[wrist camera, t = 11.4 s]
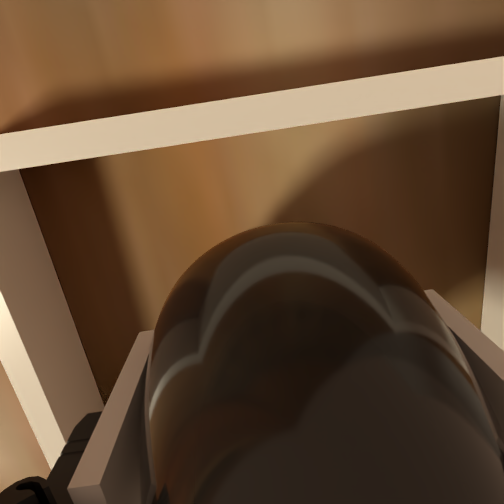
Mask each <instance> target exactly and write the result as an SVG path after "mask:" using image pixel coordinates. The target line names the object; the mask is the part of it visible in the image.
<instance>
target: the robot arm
mask: <svg viewBox="0 0 504 504" xmlns="http://www.w3.org/2000/svg"><path fill="white" fill-rule="evenodd" d="M424 292H425V293H426V294H427V296H428V297H429V299H430V300H431V302H432V303H433V305H434V306H435V308H436V309H437V311H438V312H439V314H440V315H441V317H442V318H443V320H444V321H445V323H446V324H447V326H448V327H449V329H450V331H451V332H452V334H453V335H454V337H455V339H456V340H457V342H458V344H459V345H460V347H461V349H462V351H463V352H464V354H465V356H466V358H467V359H468V361H469V363H470V365H471V367H472V369H473V371H474V372H475V374H476V376H477V378H478V380H479V382H480V384H481V386H482V388H483V390H484V392H485V394H486V396H487V398H488V400H489V402H490V405H491V407H492V409H493V411H494V413H495V415H496V417H497V419H498V421H499V424H500V426H501V428H502V430H503V432H504V351H503V350H502V349H501V348H499V347H498V346H497V345H496V344H495V343H494V342H493V341H491V340H490V339H489V338H488V337H487V336H486V335H485V334H483V333H482V332H481V331H480V330H479V329H478V328H477V327H475V326H474V325H473V324H472V323H471V322H470V321H469V320H467V319H466V318H465V317H464V316H463V315H462V314H461V313H459V312H458V311H457V310H456V309H455V308H454V307H453V306H451V305H450V304H449V303H448V302H447V301H446V300H445V299H443V298H442V297H441V296H440V295H439V294H438V293H437V292H435V291H434V290H433V289H430V290H424ZM153 334H154V330H149V331H142V332H139V334H138V336H137V338H136V340H135V342H134V345H133V347H132V349H131V351H130V353H129V355H128V358H127V360H126V362H125V364H124V366H123V368H122V371H121V373H120V375H119V377H118V379H117V381H116V384H115V386H114V388H113V390H112V392H111V394H110V397H109V399H108V401H107V403H106V405H105V407H104V410H103V411H100V412H93V413H87V414H86V415H85V417H84V418H83V419H82V420H81V421H80V422H79V423H78V424H77V425H76V426H75V427H74V429H73V431H72V433H71V435H70V436H69V438H68V440H67V444H65V446H64V448H63V450H62V452H61V453H60V454H61V456H60V457H58V459H57V461H56V463H55V465H54V467H53V469H52V471H51V472H50V474H49V476H48V478H47V480H46V479H44V478H41V477H39V476H35V477H27V478H25V479H22V480H20V481H17V482H15V483H14V484H12V485H11V486H9V487H8V488H6V489H5V490H3V491H2V492H1V493H0V504H141V497H140V433H141V415H142V404H143V394H144V385H145V378H146V371H147V364H148V358H149V352H150V346H151V342H152V337H153Z"/></svg>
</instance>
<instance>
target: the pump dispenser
mask: <svg viewBox="0 0 504 504" xmlns="http://www.w3.org/2000/svg"><path fill="white" fill-rule="evenodd" d="M140 497H141V504H504V432H503V430H502V428H501V426H500V424H499V421H498V419H497V417H496V415H495V413H494V411H493V409H492V407H491V405H490V402H489V400H488V398H487V396H486V394H485V392H484V390H483V388H482V386H481V384H480V382H479V380H478V378H477V376H476V374H475V372H474V371H473V369H472V367H471V365H470V363H469V361H468V359H467V358H466V356H465V354H464V352H463V351H462V349H461V347H460V345H459V344H458V342H457V340H456V339H455V337H454V335H453V334H452V332H451V331H450V329H449V327H448V326H447V324H446V323H445V321H444V320H443V318H442V317H441V315H440V314H439V312H438V311H437V309H436V308H435V306H434V305H433V303H432V302H431V300H430V299H429V297H428V296H427V294H426V293H425V292H424V290H423V289H422V288H421V286H420V285H419V284H418V283H417V281H416V280H415V279H414V278H413V277H412V275H411V274H410V273H409V272H408V271H407V270H406V269H405V268H404V267H403V266H402V265H401V264H400V263H399V262H398V261H397V260H396V259H395V258H393V257H392V256H391V255H390V254H389V253H388V252H386V251H385V250H384V249H382V248H381V247H380V246H378V245H377V244H375V243H373V242H372V241H370V240H368V239H367V238H365V237H363V236H361V235H358V234H356V233H354V232H351V231H348V230H345V229H342V228H339V227H335V226H331V225H326V224H320V223H311V222H287V223H277V224H271V225H266V226H261V227H257V228H254V229H251V230H248V231H245V232H242V233H239V234H237V235H235V236H233V237H231V238H228V239H226V240H225V241H223V242H221V243H219V244H218V245H216V246H214V247H213V248H211V249H210V250H208V251H207V252H206V253H204V254H203V255H202V256H201V257H199V258H198V259H197V260H196V261H195V262H194V263H193V264H192V265H191V266H190V267H189V268H188V269H187V270H186V271H185V272H184V273H183V274H182V276H181V277H180V278H179V280H178V281H177V282H176V284H175V285H174V287H173V288H172V290H171V292H170V293H169V295H168V297H167V299H166V301H165V303H164V305H163V308H162V310H161V312H160V315H159V318H158V321H157V324H156V327H155V330H154V334H153V337H152V342H151V346H150V352H149V358H148V364H147V371H146V378H145V385H144V394H143V404H142V415H141V433H140Z"/></svg>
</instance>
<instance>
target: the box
mask: <svg viewBox="0 0 504 504" xmlns="http://www.w3.org/2000/svg"><path fill="white" fill-rule="evenodd" d="M498 95H501V101H500V113H499V125H498V136H497V148H496V159H495V171H494V183H493V194H492V206H491V217H490V229H489V241H488V252H487V264H486V275H485V287H484V299H483V310H482V322H481V332H482V333H483V334H485V335H486V336H487V337H488V338H489V339H490V340H491V341H493V342H494V343H495V344H496V345H497V346H498V347H499V348H501V349H502V350H503V351H504V56H502V57H496V58H489V59H483V60H476V61H470V62H463V63H457V64H450V65H444V66H438V67H431V68H425V69H418V70H412V71H405V72H399V73H392V74H386V75H379V76H373V77H367V78H360V79H354V80H347V81H341V82H334V83H328V84H321V85H315V86H309V87H302V88H296V89H289V90H283V91H276V92H270V93H263V94H257V95H250V96H244V97H238V98H231V99H225V100H218V101H212V102H205V103H199V104H192V105H186V106H180V107H173V108H167V109H160V110H154V111H147V112H141V113H134V114H128V115H121V116H115V117H109V118H102V119H96V120H89V121H83V122H76V123H70V124H63V125H57V126H51V127H44V128H38V129H31V130H25V131H18V132H12V133H5V134H0V360H1V362H2V364H3V367H4V369H5V371H6V373H7V375H8V377H9V380H10V382H11V384H12V386H13V388H14V390H15V393H16V395H17V397H18V399H19V401H20V403H21V406H22V408H23V410H24V412H25V414H26V416H27V419H28V421H29V423H30V425H31V427H32V429H33V432H34V434H35V436H36V438H37V440H38V442H39V445H40V447H41V449H42V451H43V453H44V455H45V458H46V460H47V462H48V464H49V466H50V468H51V471H52V469H53V467H54V465H55V463H56V461H57V459H58V457H60V456H61V454H60V453H61V452H62V450H63V448H64V446H65V444H67V440H68V438H69V436H70V435H71V433H72V431H73V429H74V427H75V426H76V425H77V424H78V423H79V422H80V421H81V420H82V419H83V418H84V417H85V415H86V414H87V413H93V412H100V411H103V410H104V404H103V401H102V398H101V396H100V393H99V390H98V387H97V385H96V382H95V379H94V376H93V374H92V371H91V368H90V365H89V362H88V360H87V357H86V354H85V351H84V349H83V346H82V343H81V340H80V338H79V335H78V332H77V329H76V327H75V324H74V321H73V318H72V316H71V313H70V310H69V307H68V304H67V302H66V299H65V296H64V293H63V291H62V288H61V285H60V282H59V280H58V277H57V274H56V271H55V269H54V266H53V263H52V260H51V257H50V255H49V252H48V249H47V246H46V244H45V241H44V238H43V235H42V233H41V230H40V227H39V224H38V222H37V219H36V216H35V213H34V210H33V208H32V205H31V202H30V199H29V197H28V194H27V191H26V188H25V186H24V183H23V180H22V177H21V175H20V172H19V169H22V168H29V167H35V166H42V165H48V164H55V163H61V162H68V161H74V160H81V159H87V158H94V157H100V156H107V155H113V154H120V153H126V152H133V151H139V150H146V149H153V148H159V147H166V146H172V145H179V144H185V143H192V142H198V141H205V140H211V139H218V138H224V137H231V136H237V135H244V134H250V133H257V132H263V131H270V130H276V129H283V128H289V127H296V126H303V125H309V124H316V123H322V122H329V121H335V120H342V119H348V118H355V117H361V116H368V115H374V114H381V113H387V112H394V111H400V110H407V109H413V108H420V107H426V106H433V105H439V104H446V103H452V102H459V101H466V100H472V99H479V98H485V97H492V96H498Z"/></svg>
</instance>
